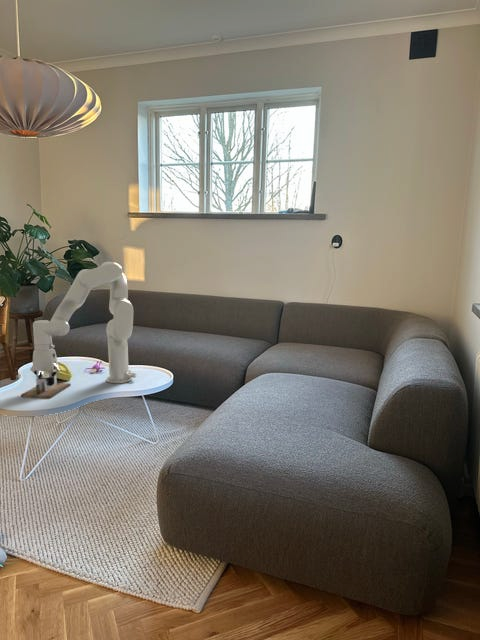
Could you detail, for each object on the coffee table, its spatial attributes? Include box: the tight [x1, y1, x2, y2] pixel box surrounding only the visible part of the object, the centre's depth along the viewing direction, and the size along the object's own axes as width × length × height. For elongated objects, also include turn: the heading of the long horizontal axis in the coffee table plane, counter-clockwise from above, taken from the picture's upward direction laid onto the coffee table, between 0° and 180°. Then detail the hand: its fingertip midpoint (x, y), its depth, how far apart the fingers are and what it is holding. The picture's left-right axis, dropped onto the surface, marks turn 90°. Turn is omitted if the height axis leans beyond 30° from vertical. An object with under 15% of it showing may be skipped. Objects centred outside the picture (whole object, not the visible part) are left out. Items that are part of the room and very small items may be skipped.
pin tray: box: [20, 382, 71, 399], centre depth 199 cm, size 14×18×5 cm
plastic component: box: [43, 361, 73, 382], centre depth 221 cm, size 20×8×10 cm
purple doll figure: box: [84, 360, 106, 375], centre depth 233 cm, size 11×3×12 cm
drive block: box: [35, 373, 58, 392], centre depth 200 cm, size 4×10×6 cm, turn 173°
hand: (46, 384), depth 199 cm, fingers open, 4 cm apart
